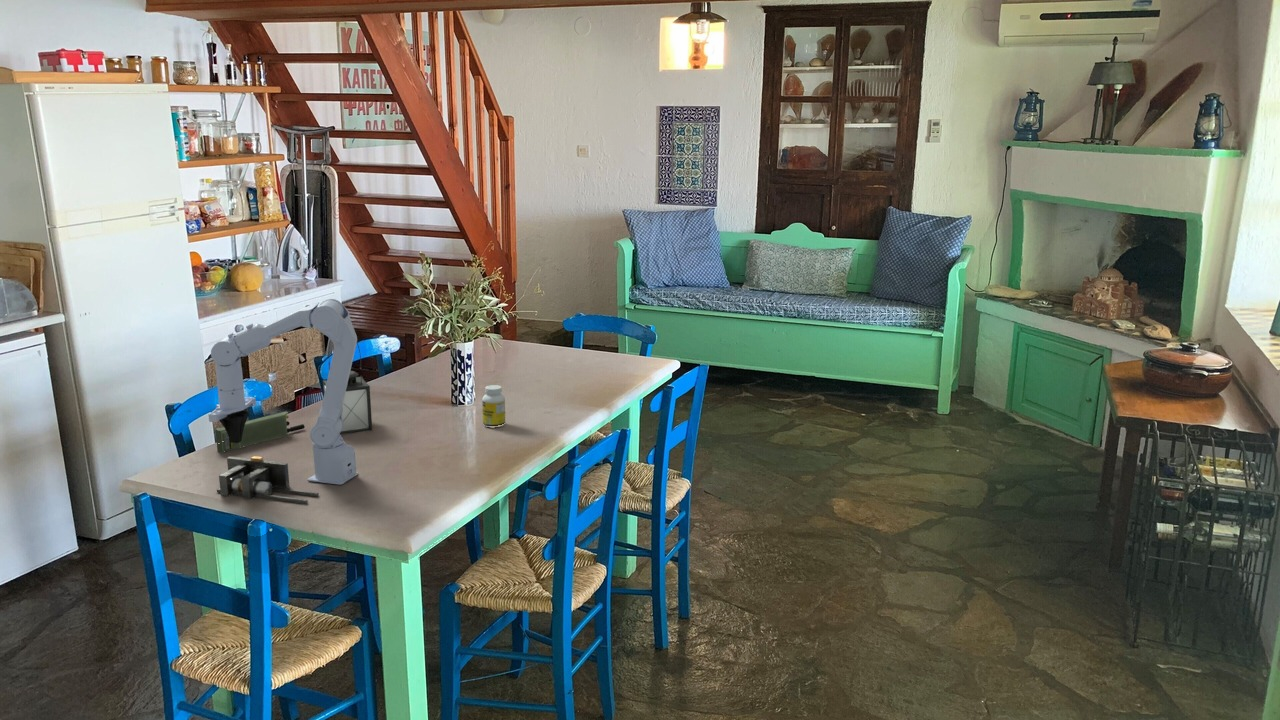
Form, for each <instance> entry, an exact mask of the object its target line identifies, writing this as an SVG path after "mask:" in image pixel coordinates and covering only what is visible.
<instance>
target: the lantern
mask: <svg viewBox="0 0 1280 720" xmlns="http://www.w3.org/2000/svg"><path fill="white" fill-rule="evenodd" d="M331 342H332V341H331V340H330V339H329V343H328V348H330V345H331ZM356 346H357V348H358V352H359V360H360V361H359V362H360V366H359V367H360V368H362V357H361V349H360V345H359V344H358V342H357V343H356ZM327 353H328V358H330V350H328V351H327ZM330 366H331V362H328V371H329V370H330ZM326 384H327V380H325V379H324V380H322V386H323V388H322V389H323V394H324V393H325V388H326ZM371 401H372V400H371V387H370V384H368V383H367V382H366V381H365V379H364V377H363V376H359V373H358V372H356V371H354V370H350V375H349V379H348V384H347V388H346V392H345V397H344V401H343V406H342V408H343V412H342V420H343V424H344V425H343V429H342V431H341V432H340V435H345V434H346V435H347V434H356V433H362V432H368V431H369V432H371V431H372V432H373V420H372V404H371V403H372V402H371Z"/></svg>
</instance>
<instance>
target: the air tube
mask: <svg viewBox="0 0 1280 720" xmlns="http://www.w3.org/2000/svg"><path fill="white" fill-rule="evenodd" d="M231 488H232V490H234V491H242V484H241V479H240V478H231ZM253 490H254V493H258V494H266V495H271V494H272V492H273V491H272V484H271V483H270V482H264V481H256V480H254V481H253Z"/></svg>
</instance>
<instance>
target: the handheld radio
mask: <svg viewBox="0 0 1280 720" xmlns="http://www.w3.org/2000/svg"><path fill="white" fill-rule="evenodd" d="M288 414H289V412H288V411H282V412H278V413H273V414H270V415H267V416H262V417H258V418H255V419H250V420H246V423H245V426H244V430H243V435H242V440H241V442H239V443H231V441H230V439H229V436H228V434H227V432H226V430H225V428H224V426H222V427H217V428H215V438H216V449H217V450H216V451H217V452H218V451H219V452H218V453H220V452H223V453H225V452H224V451H227V452H229V451H228V450H231V451H233V449H235V450H238V449H241V448H240V447H242V448H244V447H243V446H246V447H248V445H250V444H253V445H256V444H255V443H257V444H260V443H259V442H261V443H265V442H267V441H272V440H276V439H279V438H283V437H287V436H288V433H292V432H296V431H300V430H304V429H305V427H306V426H305V425H304V424H303V423H302V424H298V425H295V426H291V427H288V426H290V423H291V422H289V421H288V420H287V419H289V415H288ZM222 441H224V442H222ZM218 443H220V444H218ZM250 446H251V445H250ZM237 448H238V449H237Z"/></svg>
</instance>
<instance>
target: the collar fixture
mask: <svg viewBox="0 0 1280 720" xmlns="http://www.w3.org/2000/svg"><path fill="white" fill-rule="evenodd" d="M226 464H227V471H225V472H223V473H221V474H219V475H218V480H219V488H216V493H217V492H221V493H220V496H222V495H225V496H224V497H230V496H232V495H231V494H233V496H241V497H242V499H244V500H245V499H246V500H251V499H253V498H256V499H263V500H264V499H265V500H271V501H272V500H273V501H279V502H289V503H295V504H302V505H307V504H308V503H309V502H308V500H309V499H304V498H296V497H289V496H288V497H287V496H280V495H271V494H270V495H266V494H258V493H254V490H253V481H254V480H256V481H264V482H270V483H271V484H272V492H275V493H276V492H277V493H282V494H292V495H298V496H299V495H300V496H308V497H315V498H319V496H320V495H319V492H315V491H308V490H307V491H306V490H299V489H293V488H290V475H289V468H288V467H289V465H288V462H281V461H280V462H279V461H272V460H264V457H263V456H259V455H258V456H257V455H254V456H252V457H250V458H247V457H246V458H245V457H237V456H228V457H227V458H226ZM231 478H240V479H241V484H242V491H234V490H232V488H231ZM229 495H230V496H229Z"/></svg>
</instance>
